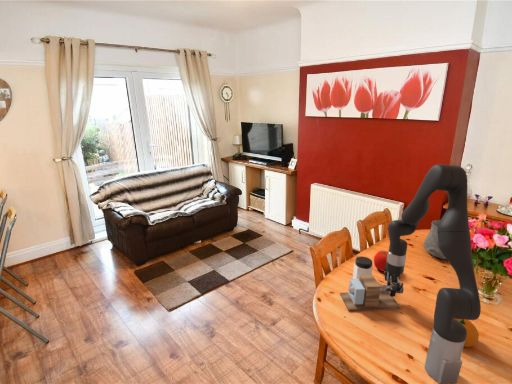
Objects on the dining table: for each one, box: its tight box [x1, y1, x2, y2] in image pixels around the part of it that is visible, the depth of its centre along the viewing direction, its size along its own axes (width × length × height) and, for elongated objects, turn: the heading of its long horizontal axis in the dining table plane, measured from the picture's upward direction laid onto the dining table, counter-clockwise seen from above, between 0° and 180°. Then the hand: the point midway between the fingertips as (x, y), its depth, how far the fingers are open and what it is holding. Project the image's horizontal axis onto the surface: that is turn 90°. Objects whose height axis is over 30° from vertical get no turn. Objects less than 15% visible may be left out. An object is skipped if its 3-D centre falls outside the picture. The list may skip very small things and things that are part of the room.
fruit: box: [456, 319, 480, 348], centre depth 116 cm, size 12×12×10 cm
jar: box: [352, 255, 373, 279], centre depth 154 cm, size 9×8×12 cm
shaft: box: [348, 284, 404, 294], centre depth 137 cm, size 24×5×5 cm, turn 93°
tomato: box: [373, 250, 389, 272], centre depth 164 cm, size 10×11×11 cm
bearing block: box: [339, 275, 402, 312], centre depth 138 cm, size 12×24×12 cm, turn 93°
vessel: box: [423, 219, 447, 260], centre depth 178 cm, size 22×22×20 cm
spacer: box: [347, 278, 365, 304], centre depth 137 cm, size 8×4×8 cm, turn 3°
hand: (390, 293), depth 138 cm, fingers closed on shaft, 3 cm apart
